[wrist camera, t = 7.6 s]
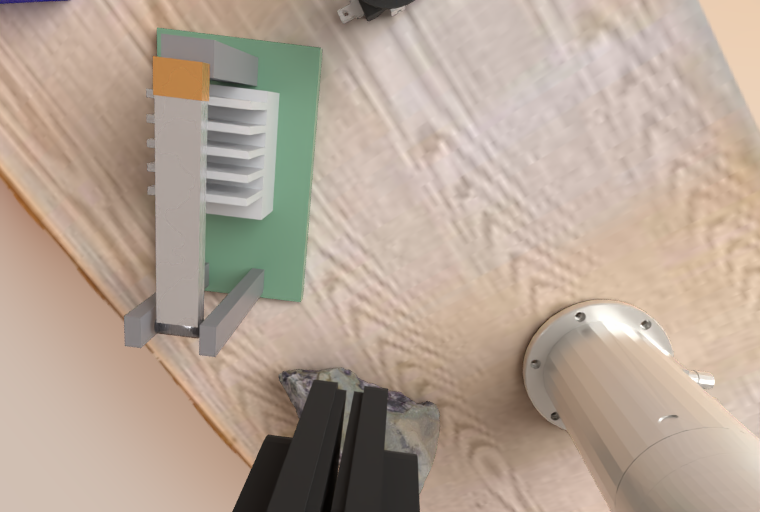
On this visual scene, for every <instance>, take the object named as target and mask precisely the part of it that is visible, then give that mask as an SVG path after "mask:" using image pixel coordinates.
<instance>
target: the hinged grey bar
mask: <svg viewBox="0 0 760 512" xmlns="http://www.w3.org/2000/svg"><path fill="white" fill-rule="evenodd" d="M209 86H210V64H207V63H204V62H197V61H189V60H181V59H173V58H164V57H156V56H153V95H154V99H155V212H156V320H155V324H154V330H155V333H158V334H166V335H175V336H183V337H191V338H200V324H201V323H202V322H203V321H204V277H205V227H206V176H207V126H208V101H209Z"/></svg>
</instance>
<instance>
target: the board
mask: <svg viewBox="0 0 760 512" xmlns="http://www.w3.org/2000/svg"><path fill="white" fill-rule="evenodd" d="M322 50H323V49H321V48H319V47H310V46H302V45H294V44H286V43H278V42H270V41H262V40H253V39H245V38H237V37H229V36H221V35H213V34H205V33H196V32H188V31H180V30H172V29H164V28H157V57H164V58H173V59H181V60H189V61H197V62H204V63H207V64H210V86H209V101H208V126H207V176H206V227H205V277H204V291H213V292H221V293H229V294H228V295H227V296H226V297H225V298H224V300H223V301H222V302H221V303H220V304H219V305H218V306H217V307H216V308H215V309H214V310H213V311H212V313H211V314H210V315H209V316H208V317H207V318H206V319H205V320H204V321H203V322H202V323H201V324H200V338H199V355H204V356H212V357H216V355H217V354H218V353H219V351H220V350H221V349H222V347H223V346H224V345H225V343H226V342H227V341H228V339H229V338H230V336H231V335H232V334H233V332H234V331H235V330H236V328H237V327H238V326H239V324H240V323H241V322H242V320H243V319H244V318H245V316H246V315H247V313H248V312H249V311H250V309H251V308H252V307H253V305H254V304H255V303H256V301H257V300H258V299H259V297H262V298H270V299H279V300H287V301H295V302H301V301H302V299H303V291H304V278H305V265H306V253H307V240H308V227H309V215H310V202H311V189H312V177H313V164H314V151H315V139H316V126H317V113H318V101H319V88H320V75H321V63H322ZM146 97H149V98H154V95H153V89H146ZM147 123H155V114H147ZM147 147H150V148H155V138H152V139H147ZM147 171H151V172H155V162H151V163H147ZM148 195H155V185H152V186H148ZM155 320H156V293H154V294H153V295H152V296H150V297H149V298H148V299H146V300H145V301H144V302H142V303H141V304H140V305H138V306H137V307H136V308H134V309H133V310H132V311H130V312H129V313H128V314H126V315H125V316H124V330H125V331H124V333H125V346H129V347H137V348H141V347H142V346H144V345H145V344H146V343H147V342H148V341H149V340H150V339H151V338H152V337H153V336H155V335H156V334H157V333H155V330H154V324H155Z"/></svg>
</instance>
